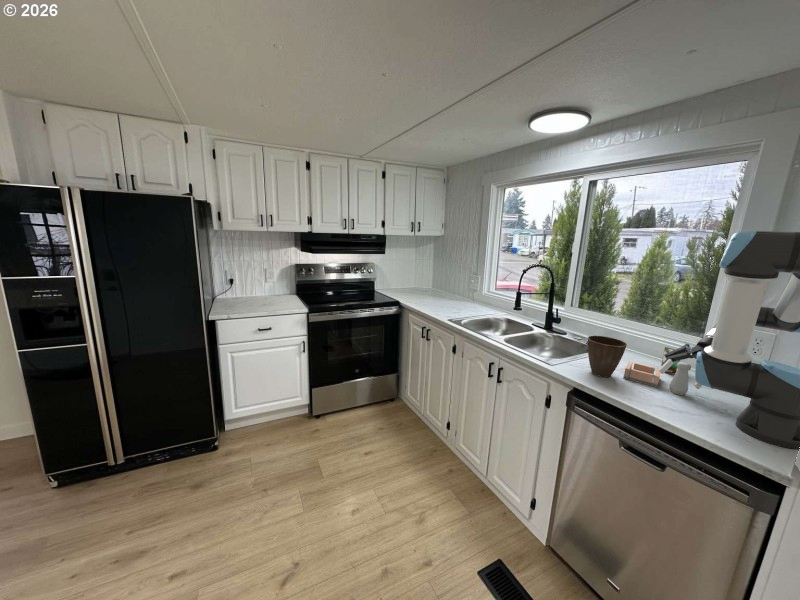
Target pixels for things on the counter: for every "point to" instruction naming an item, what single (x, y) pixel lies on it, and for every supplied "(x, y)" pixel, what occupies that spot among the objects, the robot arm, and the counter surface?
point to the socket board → (642, 374)
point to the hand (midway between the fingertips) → (677, 379)
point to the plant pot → (604, 354)
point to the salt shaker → (680, 379)
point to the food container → (674, 366)
